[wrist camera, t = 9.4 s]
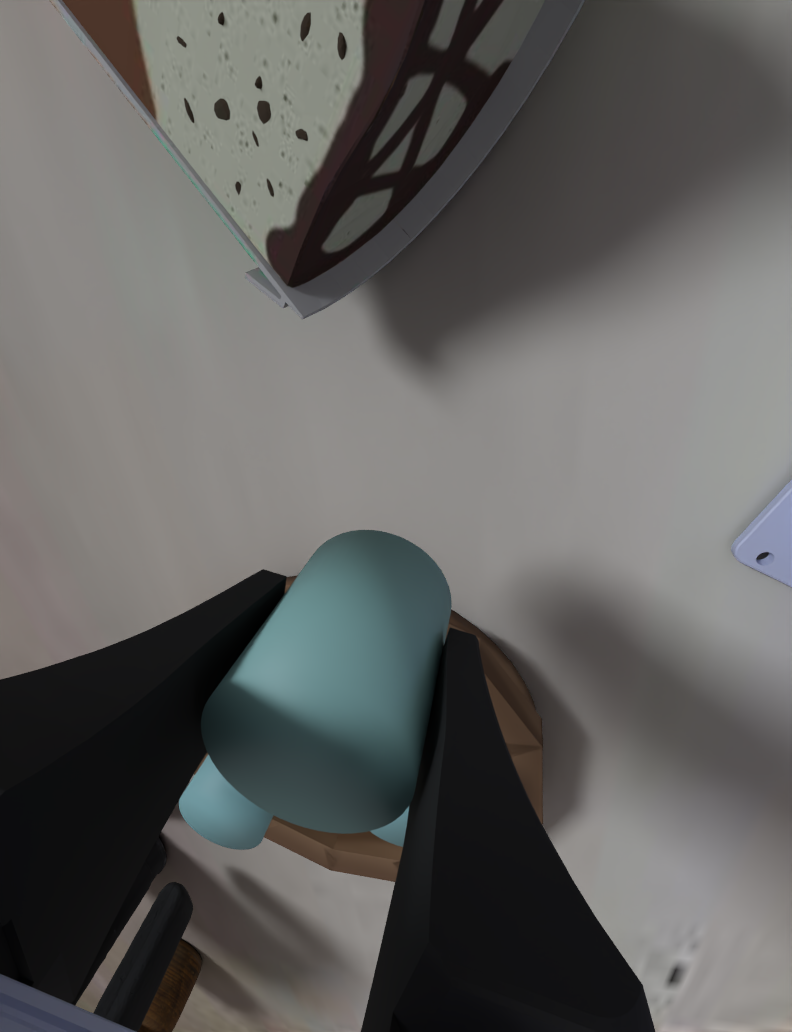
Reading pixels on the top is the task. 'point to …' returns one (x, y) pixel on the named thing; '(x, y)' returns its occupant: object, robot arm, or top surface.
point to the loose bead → (336, 688)
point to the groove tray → (522, 741)
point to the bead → (222, 811)
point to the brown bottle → (173, 990)
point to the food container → (324, 114)
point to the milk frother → (142, 946)
